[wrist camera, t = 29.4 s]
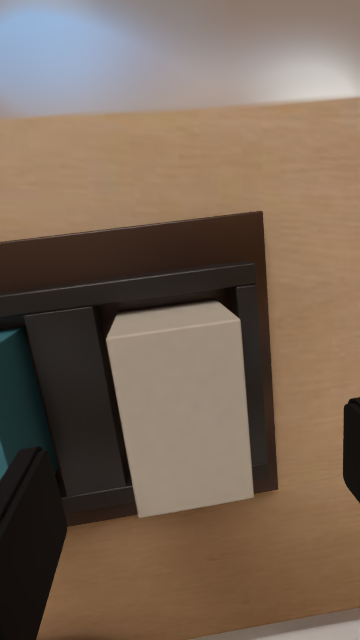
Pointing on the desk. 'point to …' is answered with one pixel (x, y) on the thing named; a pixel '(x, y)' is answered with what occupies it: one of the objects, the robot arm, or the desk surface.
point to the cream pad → (182, 405)
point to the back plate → (95, 323)
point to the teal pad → (20, 401)
